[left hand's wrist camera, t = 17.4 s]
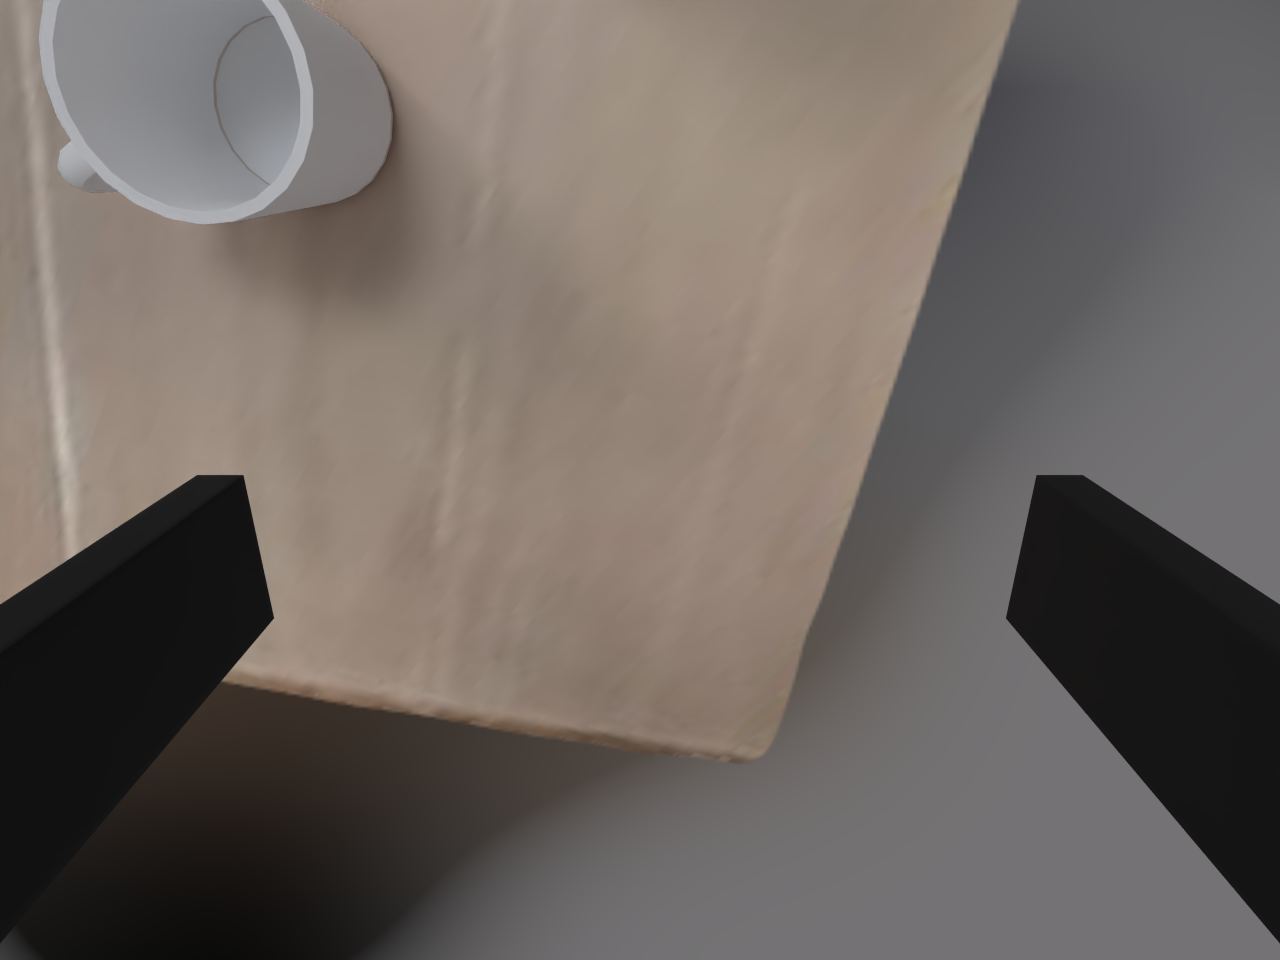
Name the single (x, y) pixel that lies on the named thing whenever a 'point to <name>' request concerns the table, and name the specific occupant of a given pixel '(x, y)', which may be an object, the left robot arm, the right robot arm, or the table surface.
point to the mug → (213, 104)
